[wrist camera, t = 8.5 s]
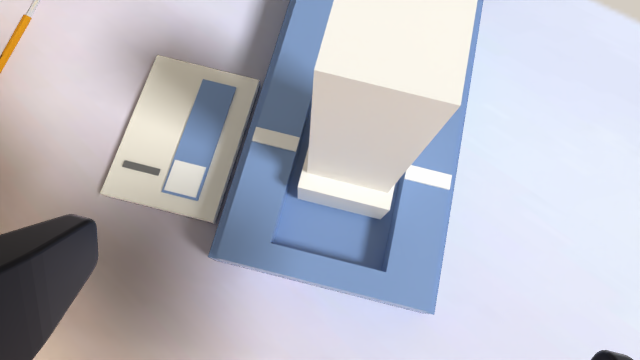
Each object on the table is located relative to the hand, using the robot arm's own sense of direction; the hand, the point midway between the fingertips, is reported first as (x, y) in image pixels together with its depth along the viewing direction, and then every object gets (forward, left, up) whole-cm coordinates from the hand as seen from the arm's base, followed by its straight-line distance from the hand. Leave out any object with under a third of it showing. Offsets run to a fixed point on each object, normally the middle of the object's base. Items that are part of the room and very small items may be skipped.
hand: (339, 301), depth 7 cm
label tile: (-4, +8, -10) cm, 14 cm away
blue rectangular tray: (+3, +7, -10) cm, 13 cm away
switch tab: (+2, +5, -9) cm, 10 cm away
